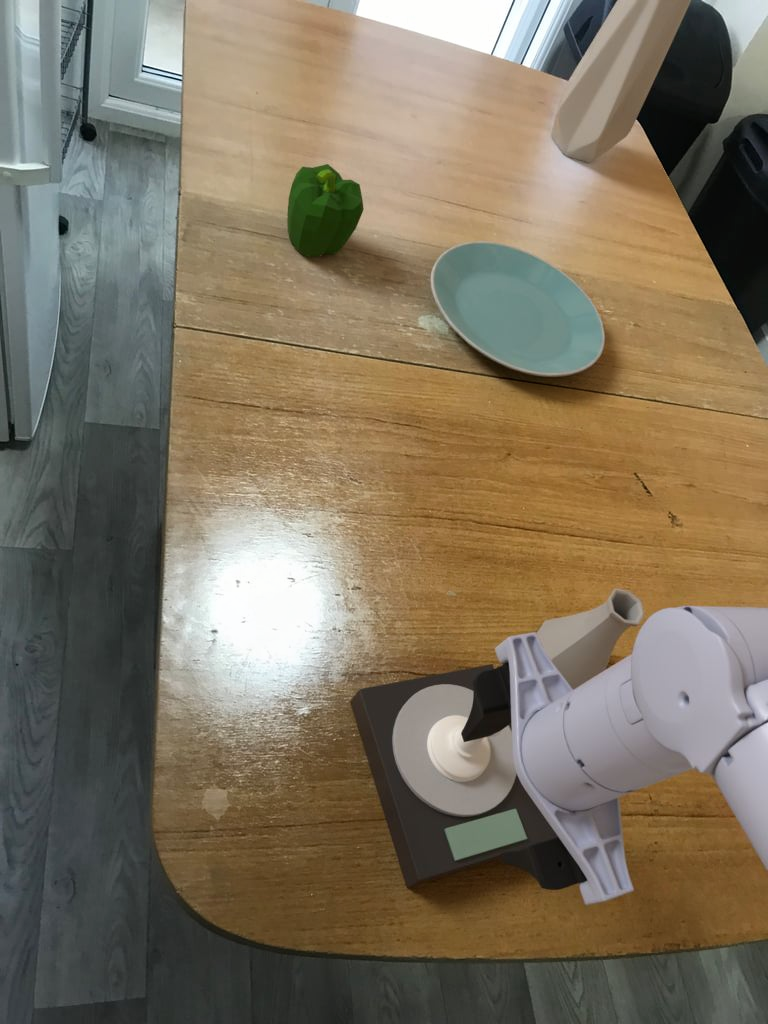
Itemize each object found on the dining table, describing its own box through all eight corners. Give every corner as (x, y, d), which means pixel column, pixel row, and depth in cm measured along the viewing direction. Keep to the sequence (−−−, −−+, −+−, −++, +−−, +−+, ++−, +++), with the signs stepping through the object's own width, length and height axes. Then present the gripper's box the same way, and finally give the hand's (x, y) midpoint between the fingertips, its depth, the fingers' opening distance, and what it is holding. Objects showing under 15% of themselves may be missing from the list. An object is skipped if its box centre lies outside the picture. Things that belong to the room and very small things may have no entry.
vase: (570, 119, 136) (693, -109, 111) (618, 163, 133) (756, -61, 108) (522, 126, 129) (641, -116, 104) (571, 173, 126) (707, -65, 101)
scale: (545, 844, 64) (565, 834, 62) (406, 888, 59) (421, 878, 56) (480, 676, 71) (495, 661, 68) (349, 701, 65) (361, 686, 63)
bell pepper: (324, 215, 100) (348, 140, 92) (359, 262, 97) (387, 189, 89) (262, 222, 95) (282, 143, 88) (296, 271, 92) (320, 195, 85)
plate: (422, 362, 91) (432, 343, 89) (423, 237, 104) (431, 218, 102) (604, 412, 96) (617, 395, 94) (582, 287, 109) (594, 270, 107)
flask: (522, 677, 72) (580, 624, 64) (536, 610, 77) (592, 553, 69) (597, 711, 72) (664, 662, 65) (606, 642, 77) (669, 589, 69)
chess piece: (418, 723, 63) (472, 667, 55) (474, 712, 65) (534, 657, 57) (439, 788, 60) (498, 739, 53) (496, 775, 63) (561, 726, 55)
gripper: (733, 862, 41) (587, 895, 52) (618, 594, 47) (508, 674, 58) (621, 903, 38) (491, 929, 49) (513, 611, 44) (418, 692, 55)
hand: (494, 793), depth 53 cm, fingers open, 7 cm apart
